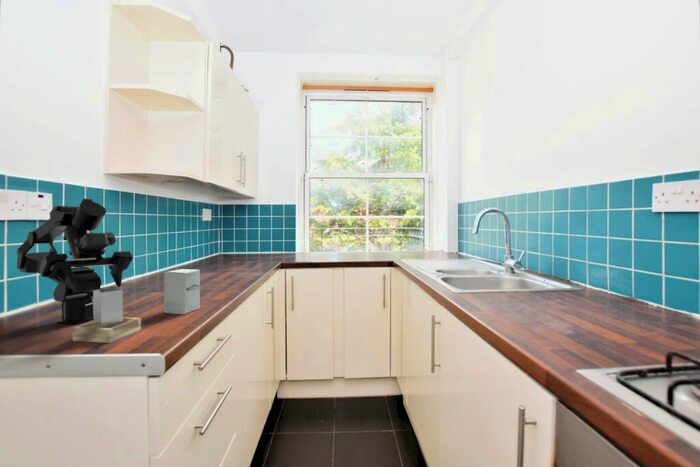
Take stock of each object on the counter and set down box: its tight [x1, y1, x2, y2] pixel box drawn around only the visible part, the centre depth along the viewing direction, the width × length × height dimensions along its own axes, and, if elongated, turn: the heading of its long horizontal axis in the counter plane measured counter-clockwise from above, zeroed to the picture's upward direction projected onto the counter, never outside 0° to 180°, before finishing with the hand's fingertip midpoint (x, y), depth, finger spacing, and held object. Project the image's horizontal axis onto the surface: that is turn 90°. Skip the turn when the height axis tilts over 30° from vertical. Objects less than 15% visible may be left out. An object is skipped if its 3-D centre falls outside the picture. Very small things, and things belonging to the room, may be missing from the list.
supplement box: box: [163, 268, 201, 315], centre depth 103 cm, size 7×7×13 cm
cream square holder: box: [72, 316, 142, 344], centre depth 81 cm, size 10×10×3 cm
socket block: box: [92, 285, 124, 328], centre depth 80 cm, size 4×4×11 cm
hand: (99, 288), depth 84 cm, fingers open, 9 cm apart
